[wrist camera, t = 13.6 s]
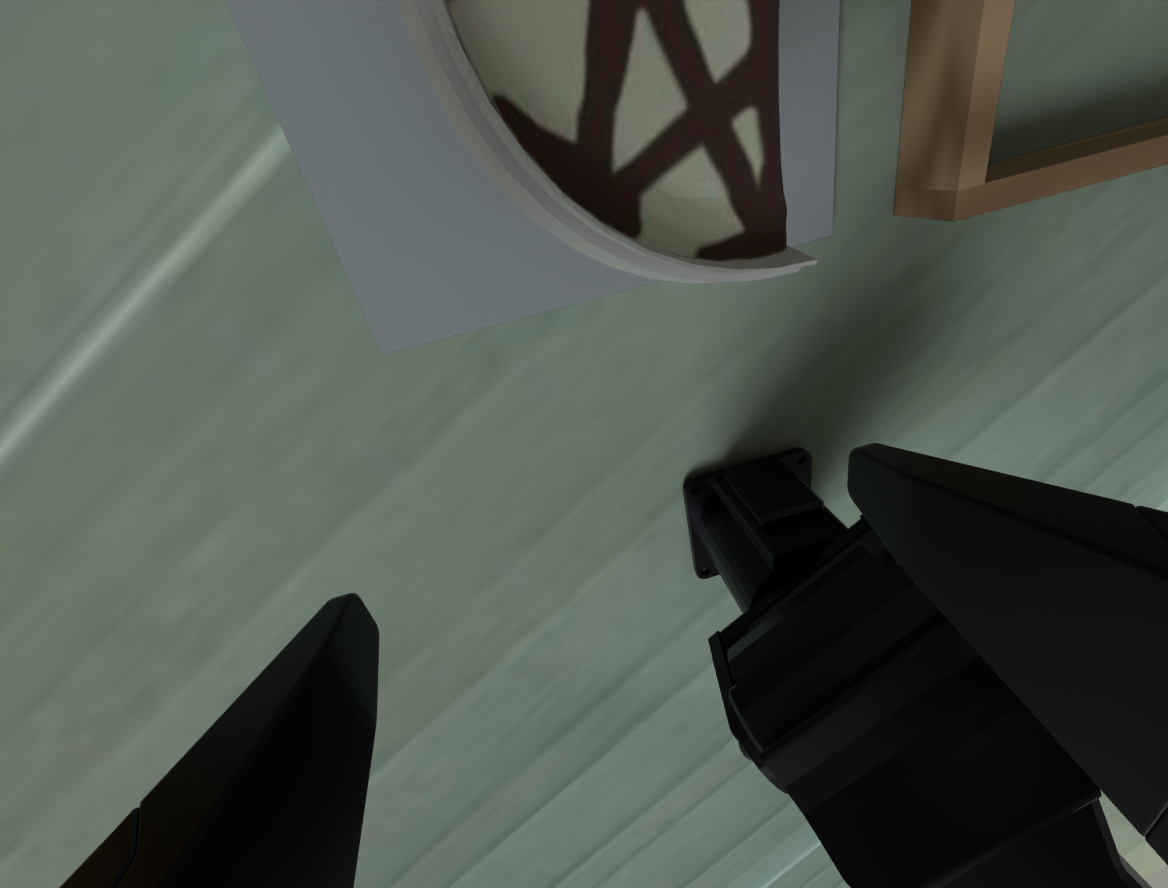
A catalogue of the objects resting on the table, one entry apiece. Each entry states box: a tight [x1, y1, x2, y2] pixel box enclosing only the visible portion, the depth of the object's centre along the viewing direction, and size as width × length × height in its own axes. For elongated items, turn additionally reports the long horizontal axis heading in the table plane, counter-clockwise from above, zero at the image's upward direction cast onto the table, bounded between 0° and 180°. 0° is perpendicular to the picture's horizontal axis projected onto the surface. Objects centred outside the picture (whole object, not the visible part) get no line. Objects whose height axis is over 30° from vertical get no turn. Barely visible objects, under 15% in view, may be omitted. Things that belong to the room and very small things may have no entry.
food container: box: [397, 0, 817, 283], centre depth 11 cm, size 12×6×10 cm, turn 15°
